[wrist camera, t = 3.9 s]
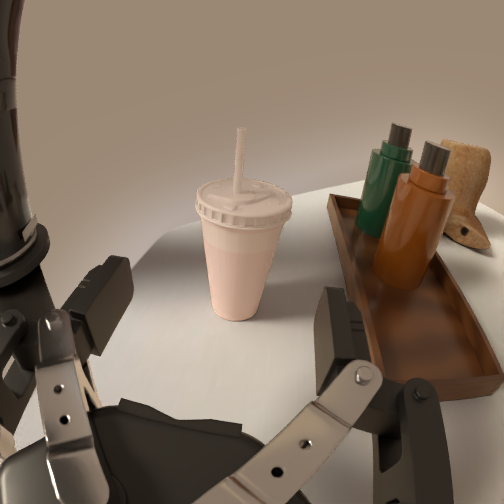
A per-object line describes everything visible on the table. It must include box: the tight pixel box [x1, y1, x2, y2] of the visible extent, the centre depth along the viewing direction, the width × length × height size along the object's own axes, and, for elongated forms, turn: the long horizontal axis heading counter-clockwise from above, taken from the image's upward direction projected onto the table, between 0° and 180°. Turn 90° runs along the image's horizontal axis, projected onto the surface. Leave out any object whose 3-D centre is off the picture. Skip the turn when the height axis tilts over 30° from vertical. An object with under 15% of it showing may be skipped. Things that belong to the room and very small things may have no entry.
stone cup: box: [440, 139, 491, 249], centre depth 40 cm, size 15×12×15 cm
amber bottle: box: [371, 141, 455, 290], centre depth 27 cm, size 6×6×14 cm
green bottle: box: [355, 123, 417, 239], centre depth 35 cm, size 6×6×14 cm
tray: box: [327, 194, 504, 401], centre depth 30 cm, size 31×12×2 cm, turn 174°
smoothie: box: [195, 128, 292, 321], centre depth 21 cm, size 6×6×14 cm
